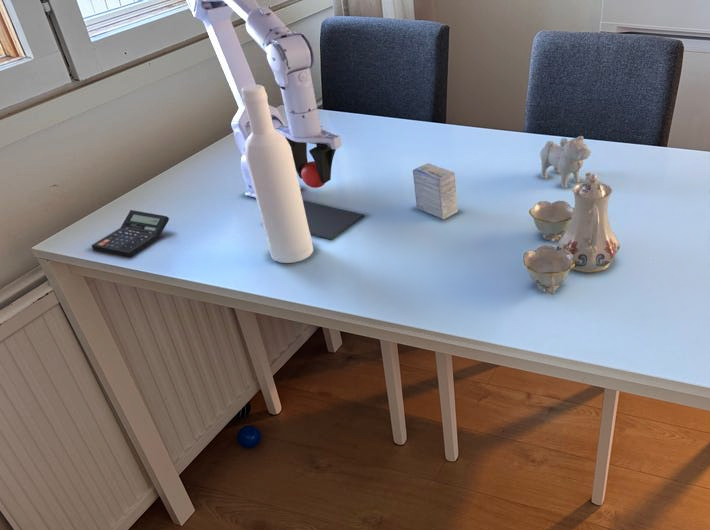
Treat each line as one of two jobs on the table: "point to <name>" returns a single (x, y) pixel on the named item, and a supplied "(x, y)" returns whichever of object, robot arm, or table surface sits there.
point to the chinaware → (573, 236)
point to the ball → (311, 175)
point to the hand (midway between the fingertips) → (315, 179)
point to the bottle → (275, 182)
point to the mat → (328, 220)
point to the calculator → (133, 234)
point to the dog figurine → (564, 158)
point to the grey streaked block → (435, 190)
